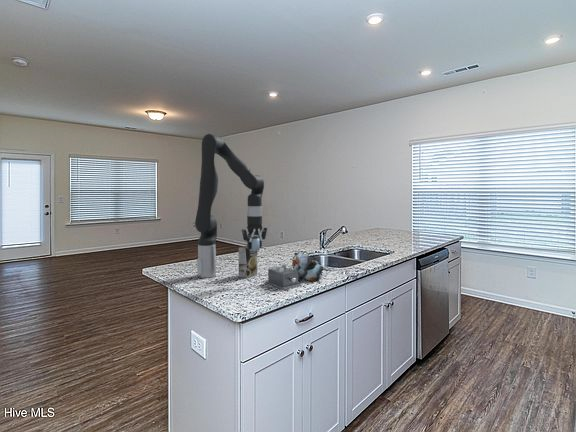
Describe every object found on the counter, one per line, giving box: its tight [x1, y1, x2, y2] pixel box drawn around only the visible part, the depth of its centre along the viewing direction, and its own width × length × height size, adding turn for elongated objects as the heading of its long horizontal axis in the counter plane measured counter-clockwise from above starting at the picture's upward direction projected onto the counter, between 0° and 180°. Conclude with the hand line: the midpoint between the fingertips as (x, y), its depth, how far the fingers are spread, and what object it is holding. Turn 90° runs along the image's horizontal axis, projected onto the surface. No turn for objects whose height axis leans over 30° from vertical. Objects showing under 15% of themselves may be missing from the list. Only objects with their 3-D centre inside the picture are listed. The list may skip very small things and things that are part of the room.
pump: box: [250, 235, 261, 252], centre depth 164 cm, size 5×5×7 cm
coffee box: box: [238, 245, 258, 279], centre depth 176 cm, size 9×6×16 cm
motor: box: [265, 263, 302, 291], centre depth 160 cm, size 11×17×9 cm, turn 37°
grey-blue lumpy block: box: [291, 252, 324, 282], centre depth 172 cm, size 17×14×16 cm
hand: (254, 248), depth 164 cm, fingers closed on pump, 5 cm apart
